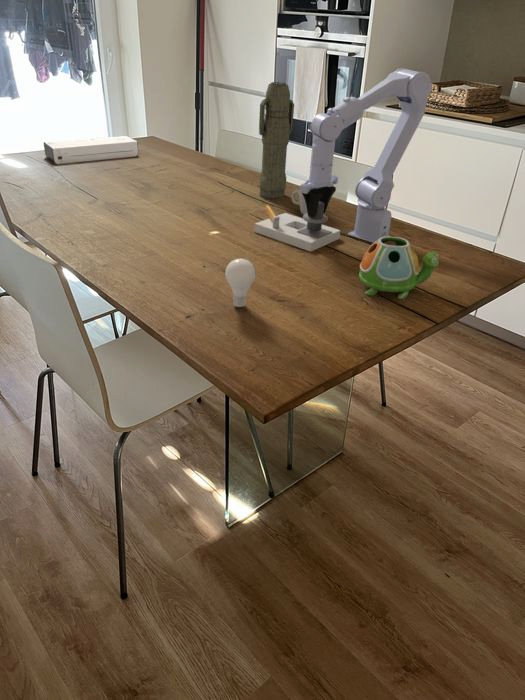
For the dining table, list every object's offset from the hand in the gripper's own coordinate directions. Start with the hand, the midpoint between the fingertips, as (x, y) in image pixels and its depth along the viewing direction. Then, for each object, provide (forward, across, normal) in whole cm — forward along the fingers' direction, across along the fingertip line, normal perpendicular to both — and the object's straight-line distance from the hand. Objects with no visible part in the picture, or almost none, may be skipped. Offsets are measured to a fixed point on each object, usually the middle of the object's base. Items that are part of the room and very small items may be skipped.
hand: (316, 214), depth 154 cm
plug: (+4, 0, 0) cm, 4 cm away
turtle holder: (+8, -11, -31) cm, 34 cm away
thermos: (+8, +24, +35) cm, 43 cm away
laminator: (+8, +8, +115) cm, 115 cm away
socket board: (+8, 0, +6) cm, 10 cm away
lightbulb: (+8, -44, -12) cm, 46 cm away
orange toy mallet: (+5, -2, +14) cm, 15 cm away
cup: (+8, +18, +16) cm, 25 cm away
